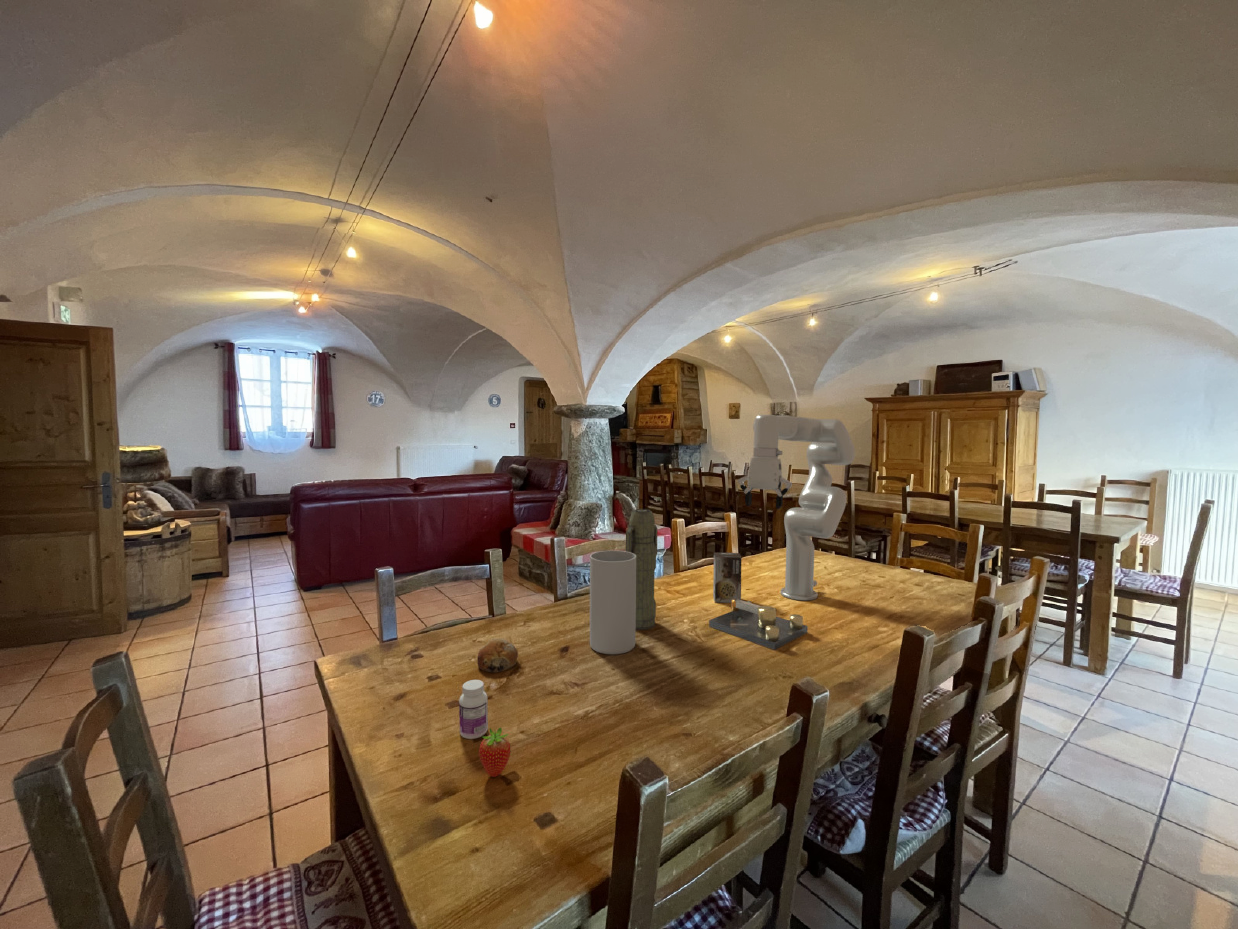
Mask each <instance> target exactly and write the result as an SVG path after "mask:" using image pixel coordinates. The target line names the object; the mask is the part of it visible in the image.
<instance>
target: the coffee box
mask: <svg viewBox="0 0 1238 929" xmlns="http://www.w3.org/2000/svg"><path fill="white" fill-rule="evenodd" d="M712 584H713V585H712V586H713V588H712V589H713V594H712V596H713V601H714V603H719V604H720V603H722V604H723V603H725V604H726V603H727V604H729V603H730V604H731V603H732V599H738V600H742V556H741V554H740V553H739V552H713V583H712Z"/></svg>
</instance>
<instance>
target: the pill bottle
mask: <svg viewBox="0 0 1238 929" xmlns="http://www.w3.org/2000/svg"><path fill="white" fill-rule="evenodd" d="M484 685H485V684H484V681H482V680H480V679H471V680H467V681H466V682H464V683H463V684H462V691H461V692H462V693H461V695H460V697H459V699H458V710H459V711H458V713H459V714H458V715H459V716H458V718H459V733H460V735H461V737H463V738H465V739H467V740H474V739H478V738H481V737H482V736H484V735H485V734H486V733H487V731H488V729H489V717H488V716H489V710H488V709H489V708H488V703H489V702H488V695H487V693H486V691H485V686H484Z"/></svg>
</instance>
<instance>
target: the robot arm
mask: <svg viewBox="0 0 1238 929" xmlns="http://www.w3.org/2000/svg"><path fill="white" fill-rule="evenodd" d="M752 429H753V432H754V433H753V451H752V452H753V457H750V462H749V466H748V474H747V475H744V476H742V477H740V478H738V479H737V481H738V484H739V486H740V490H742V491H743V493H744V503H745V505H746V507H750V506H752V504H753V503H752V502H753V501H752V500H753V494H752V493H751V492H752V491H753V490H754V489H756V490H757V489H758V490H770V491H774V492H775V493H776V495H777V496H776V497H775V509H776V510H779V509H782V507H783V501H784V500H783V498H784V496H785V495H786V494H788V492H789V491H790V489H791V487H792V486H793V483H792V482H791V481H790V480H788V479H786V478H784V477H783V472H782V471H783V470H782V461H781V458H778V457H779V456H782V455H783V450H780V449H779V440H782V441H789V442H801V443H802V442H803V443H809V445H808V446H807V448H806V460H807V465H808V476H807V479H806V481H805V483H804V485H803V488H802V489H801V492H800V494H799V496H798V504H799V506H800V507H791V508H789V509H788V510H787V511H786V512H785V514H784V517H783V518H784V520H783V523H784V524H783V525H784V530H785V535H786V536H785V539H786V540H785V541H786V544H785V545H786V548H785V549H786V550H785V551H786V552H785V580H784V581H785V583H784V586H785V587H782V588H781V589H780V594H781V595H782V596H783V597H785V598H787V599H790V600H796V601H813V600H816V599H817V598H818V592H817V591H815V590H814V587H815V586H817V585H818V582H817V580H814V578H815V577H814V572H815V571H814V570H815V545H814V542H813V540H812V539H811V537H813V538H819V539H830V538H832V537H833V536H834V534H835V532H837V531H836V530H837V528H838V526H839V523H840V521H841V518H842V516H843V514H844V512H845V509H846V504H847V496H846V493H845V490H843V489H842V488H841V487H837V486H832V484H833V477H832V473H831V472H830V471H829V470H828V468H827V467H826V465H831V466H832V465H833V466H848V465H851V464H852V463H853V462H854V460H855V457H856V451H855V447H854V446H855V445H854V443H853V441H852V438H851V436H850V434H849V431H848V428H846V425H845V424H844V423H843V422H842V420H840V419H837V418H832V419H831V418H829V419H828V418H825V419H821V418H820V419H819V418H811V417H810V418H809V417H803V416H791V415H780V414H779V415H773V414H759V415H757V416H755V418H754V422H753V425H752ZM745 481H747V486H746V485H745ZM783 484H784V485H785V487H784V488H783V489H782V486H783Z"/></svg>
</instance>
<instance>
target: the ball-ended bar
mask: <svg viewBox="0 0 1238 929" xmlns="http://www.w3.org/2000/svg"><path fill="white" fill-rule="evenodd" d="M730 604H731V605H730V606H731V610H730V611H739V609H742V610H746V611H749V612H752V613H755V614H758V626H759V627H761V628H765V629H766V626H769V625H772V626H776V616H777V608H775V607H774V606H770V605H769V606H768V605H758V604H755V603H752V602H751V603H749V602H748V601H745V600H742V599H741V600H738V599H732V603H730Z"/></svg>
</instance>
